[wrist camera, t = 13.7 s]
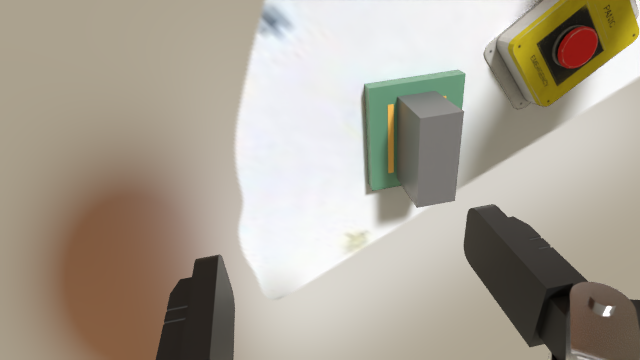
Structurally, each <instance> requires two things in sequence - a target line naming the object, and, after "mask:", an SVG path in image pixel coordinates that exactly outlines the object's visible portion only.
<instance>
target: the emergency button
mask: <svg viewBox="0 0 640 360" xmlns="http://www.w3.org/2000/svg"><path fill="white" fill-rule="evenodd" d="M637 17H638V8H637V4H636V1H635V0H541V1H539V2H538V3H537V4H536V5H535V6H533V7H532V8H531V9H530V10H529V11H527V12H526V13H525V14H524V15H523V16H521V17H520V18H519V19H518V20H517V21H515V22H514V23H513V24H512V25H510V26H509V27H508V28H507V29H506V30H504V31H503V32H502V33H501V34H500V35H498V36H497V37H496V38H495V39H494V40H492V41H491V42H490V43H489V44H488V45H487V47H486V48H485V51H484V56H485V59H486V61H487V62H488V64H489V66H490V67H491V69H492V71H493V73H494V74H495V76H496V78H497V79H498V81H499V83H500V85H501V86H502V88H503V90H504V91H505V93H506V95H507V97H508V98H509V100H510V102H511V103H512V105H513V107H515V108H516V109H522V108H524V107H526V106H527V105H528V104H530V103H531V102H532V103H535V104H538V105H540V106H545V107H547V106H549V105H551V104H552V103H554V102H555V101H556V100H558V99H559V98H560V97H561V96H563V95H564V94H565V93H567V92H568V91H569V90H571V89H572V88H573V87H575V86H576V85H577V84H579V83H580V82H581V81H583V80H584V79H585V78H587V77H588V76H589V75H590V74H592V73H593V72H594V71H596V70H597V69H598V68H600V67H601V66H602V65H604V64H605V63H606V62H608V61H609V60H610V59H612V58H613V57H614V56H616V55H617V54H618V53H619V52H621V51H622V50H623V49H625V48H626V47H627V46H629V45H630V44H631V43H633V42H634V41H635V40H636V39H637V37H638V35H639V27H638V24H637V21H636V19H637Z"/></svg>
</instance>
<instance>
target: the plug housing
mask: <svg viewBox="0 0 640 360" xmlns="http://www.w3.org/2000/svg"><path fill="white" fill-rule="evenodd" d="M463 115H464V111H463V110H461V109H460V108H458V107H457V106H456V105H454V104H453V103H452V102H450V101H449V100H447V99H446V98H445V97H443V96H442V95H440V94H439V93H438V92H436V91H430V92H424V93H418V94H411V95H405V96H398V97H397V179H398V181H399V182H400V184H401V185H402V186H403V188H404V189H405V191H406V192H407V194H408V195H409V197H410V198H411V200H412V201H413V203H414V204H415V206H416V207H417V208H418V207H423V206H429V205H434V204H440V203H445V202H451V201H455V193H456V184H457V174H458V164H459V154H460V144H461V134H462V124H463Z"/></svg>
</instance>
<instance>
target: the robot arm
mask: <svg viewBox="0 0 640 360" xmlns="http://www.w3.org/2000/svg"><path fill="white" fill-rule="evenodd" d="M464 251H465V256H466V258H467V260H468V262H469V264H470V265H471V267H472V268H473V270H474V271H475V272H476V274H477V275H478V276H479V278H480V279H481V281H482V282H483V283H484V285H485V286H486V288H488V290H489V292H490V293H491V294H492V296H493V297H494V299H495V300H496V301H497V303H498V304H499V305H500V307H501V308H502V310H503V311H504V312H505V314H506V315H507V317H508V318H509V319H510V321H511V322H512V323H513V325H514V326H515V328H516V329H517V330H518V332H519V333H520V335H521V336H522V337H523V339H524V340H525V341H526V342H527V344H528V345H529V347H533V346H537V345H542V344H545V345H546V346H547V347H548V349H549V350H550V353H549V356H548V360H640V300H631V299H629V298H628V297H626V296H625V295H624V294H623V293H621V292H620V291H618V290H617V289H614V288H612V287H610V286H608V285H605V284H601V283H597V282H588V281H587V280H586V279H585V278H584V277H583V276H582V275H581V274H580V273H579V272H578V271H577V270H576V269H574V267H572V266H571V265H570V264H569V263H568V262H567V261H566V260H565V259H564V258H563V257H562V256H561V255H560V254H559V253H558V252H557V251H556V250H555V249H554V248H551V247H550V245H549V244H548V243H547V242H546V241H545V240H544V239H543V238H542V239H541V236H540V235H539V234H538V233H537V232H536V231H535V230H534V229H533V228H532V227H531V226H530V225H528V224H526V223H524V222H522V221H521V220H519V219H517V218H515V217H507V216H506V215H505V214H504V213H503V212H502V211H501V210H500V209H499V208H498V207H497V206H496V205H493V204H491V205H487V206H481V207H476V208H471V209H469V211H468V214H467V222H466V230H465V238H464ZM234 318H235V304H234V296H233V291H232V287H231V284H230V281H229V277H228V274H227V271H226V268H225V265H224V261H223V258H222V256H221V255H215V256H210V257H204V258H199V259H196V260H195V263H194V269H193V275H192V277H190V278H185V279H180V280H179V282H178V283H177V285H176V286H175V288H174V289H173V291H172V292H171V293H170V297H169V302H168V306H167V312H166V315H165V320H164V323H165V324H164V325H163V329H162V334H161V338H160V343H159V347H158V352H157V356H156V360H233V352H234V351H233V350H234Z"/></svg>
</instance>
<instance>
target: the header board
mask: <svg viewBox="0 0 640 360" xmlns="http://www.w3.org/2000/svg"><path fill="white" fill-rule="evenodd" d="M464 83H465V73H463V72H461V71H459V70H454V71H448V72H441V73H435V74H428V75H421V76H415V77H408V78H402V79H395V80H389V81H382V82H376V83H369V84H365V102H366V127H367V152H368V177H369V185H370V187H371V189H372V191H373V190H379V189H385V188H390V187H396V186H401V184H400V182H399V181H398V179H397V97H398V96H405V95H411V94H418V93H424V92H430V91H436V92H438V93H439V94H440V95H442V96H443V97H445V98H446V99H447V100H449V101H450V102H452V103H453V104H454V105H456V106H457V107H458V108H460V109H461V110H462V103H463V93H464Z"/></svg>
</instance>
